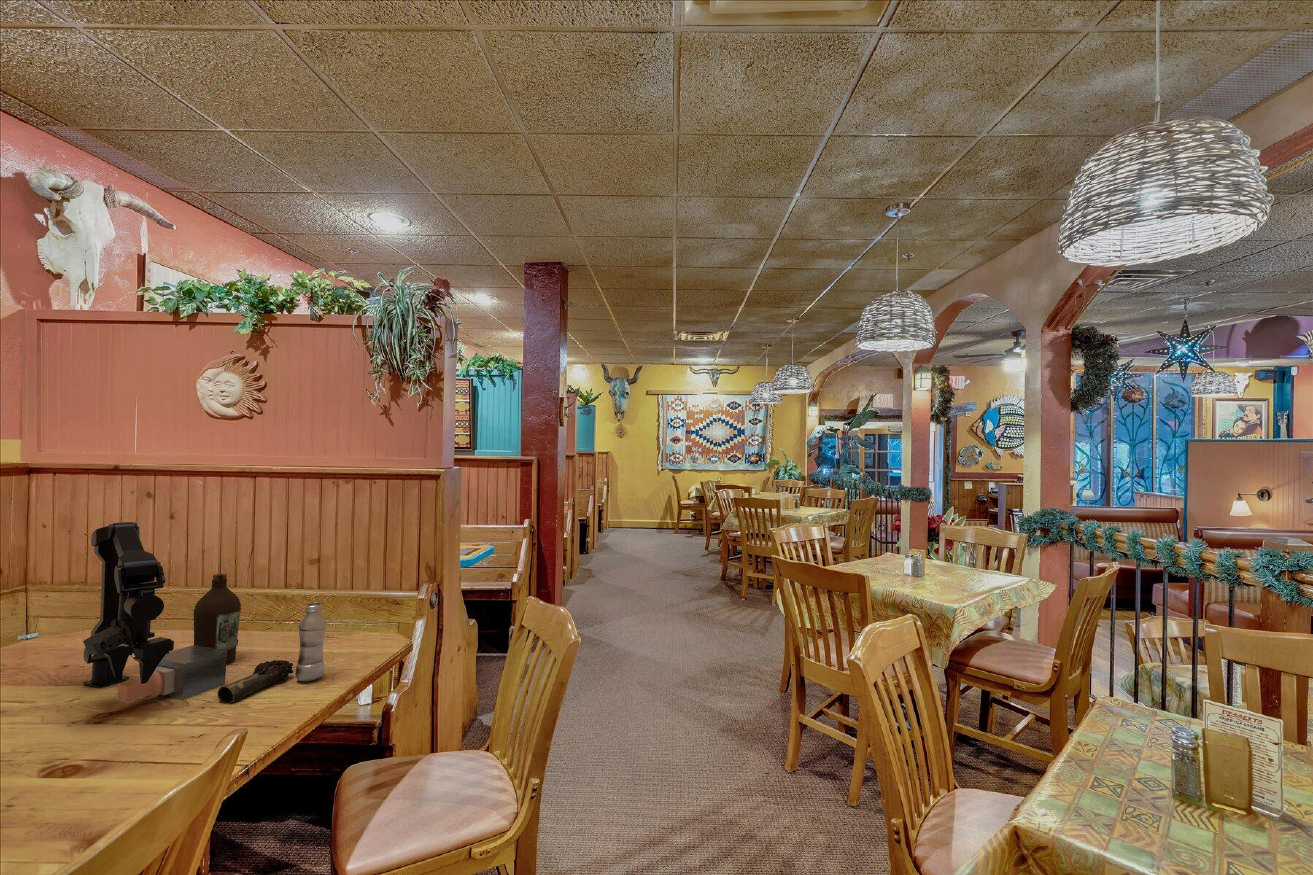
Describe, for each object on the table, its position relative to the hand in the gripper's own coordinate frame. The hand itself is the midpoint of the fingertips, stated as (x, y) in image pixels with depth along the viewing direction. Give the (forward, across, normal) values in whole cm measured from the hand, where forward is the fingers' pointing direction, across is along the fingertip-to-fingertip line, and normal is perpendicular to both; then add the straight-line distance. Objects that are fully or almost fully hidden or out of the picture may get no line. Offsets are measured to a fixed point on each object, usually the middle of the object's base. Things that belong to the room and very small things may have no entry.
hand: (130, 680), depth 131 cm
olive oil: (+7, -11, +26) cm, 29 cm away
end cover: (+6, 0, +6) cm, 8 cm away
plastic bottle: (+7, +23, +27) cm, 37 cm away
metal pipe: (+7, +16, +18) cm, 25 cm away
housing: (+6, 0, +12) cm, 14 cm away
